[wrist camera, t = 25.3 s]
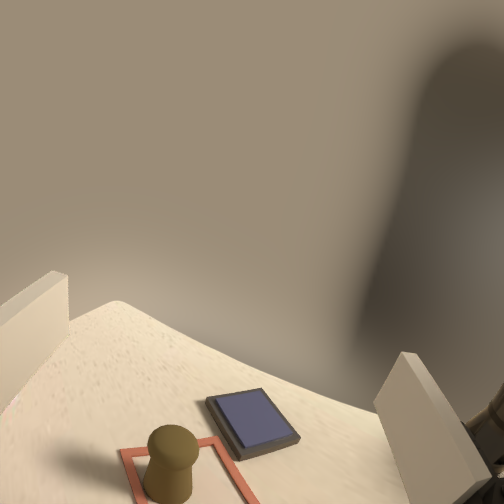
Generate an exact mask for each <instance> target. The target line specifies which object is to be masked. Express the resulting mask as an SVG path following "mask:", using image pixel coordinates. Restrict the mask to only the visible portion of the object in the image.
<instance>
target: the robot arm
mask: <svg viewBox="0 0 504 504" xmlns="http://www.w3.org/2000/svg"><path fill="white" fill-rule="evenodd" d="M68 311H69V310H68V275H65V274H62V273H59V272H56V271H53V270H52V271H51V272H49V273H48V274H46V275H45V276H43V277H42V278H40V279H39V280H37V281H36V282H34V283H33V284H31V285H30V286H29V287H27V288H25V289H24V290H22V291H21V292H20V293H18V294H17V295H15V296H14V297H12V298H11V299H10V300H9V301H7V302H6V303H4V304H3V305H1V306H0V415H1V414H2V413H3V411H4V410H5V409H6V408H7V406H8V405H9V404H10V403H11V401H12V400H13V399H14V398H15V397H16V395H17V394H18V393H19V392H20V391H21V389H22V388H23V387H24V386H25V385H26V384H27V382H28V381H29V380H30V379H31V378H32V377H33V375H34V374H35V373H36V372H37V371H38V370H39V369H40V367H41V366H42V365H43V364H44V363H45V362H46V361H47V360H48V358H49V357H50V356H51V355H52V354H53V353H54V352H55V351H56V350H57V348H58V347H59V346H60V345H61V344H62V343H63V342H64V341H65V340H66V339H67V338H68V336H69V335H70V330H69V312H68ZM373 403H374V406H375V408H376V411H377V413H378V416H379V419H380V421H381V424H382V426H383V429H384V431H385V434H386V437H387V439H388V442H389V445H390V447H391V450H392V453H393V455H394V458H395V461H396V464H397V466H398V469H399V472H400V475H401V478H402V480H403V483H404V486H405V489H406V492H407V495H408V498H409V501H410V504H504V478H500V479H499V478H498V477H497V475H496V474H499V473H501V472H503V471H504V383H503V384H502V386H501V387H500V389H499V390H498V391H497V393H496V394H495V396H494V398H493V399H492V400H491V402H490V403H489V405H488V406H487V407H486V408H485V409H483V410H482V411H481V412H480V413H478V414H477V415H476V416H474V417H473V418H472V419H470V420H469V421H468V422H467V423H466V424H464V423H463V422H461V421H460V420H459V418H458V417H457V416H456V414H455V412H454V410H453V409H452V407H451V406H450V404H449V403H448V401H447V400H446V398H445V396H444V395H443V393H442V392H441V390H440V389H439V387H438V386H437V384H436V382H435V381H434V380H433V378H432V376H431V375H430V374H429V372H428V371H427V369H426V367H425V366H424V365H423V363H422V362H421V360H420V359H419V357H418V356H417V354H414V353H407V352H401V353H400V355H399V357H398V359H397V361H396V363H395V365H394V367H393V368H392V370H391V372H390V374H389V376H388V378H387V380H386V381H385V383H384V385H383V386H382V388H381V390H380V392H379V393H378V395H377V397H376V399H375V400H374V402H373Z"/></svg>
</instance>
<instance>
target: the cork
mask: <svg viewBox="0 0 504 504" xmlns="http://www.w3.org/2000/svg"><path fill="white" fill-rule="evenodd" d="M147 446H148V453H149V455H150V457H151V458H150V461H149V464H148V467H147V470H146V473H145V476H144V480H143V487H144V490H145V492H146V494H147V495H148V496H149V497H150V498H151V499H152V500H153V501H155V502H157V503H159V504H182V503H184V502H185V501H187V500H188V499H189V497H190V496H191V494H192V465H193V464H194V463H195V461H196V460H197V458H198V455H199V445H198V441H197V439H196V438H195V436H194V435H193V434H192V433H191V432H190V431H189V430H187V429H185V428H183V427H181V426H177V425H164V426H161V427H159V428H157V429H155V430H154V431H153V432H152V434H151V435H150V437H149V439H148V443H147Z"/></svg>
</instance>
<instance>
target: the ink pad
mask: <svg viewBox="0 0 504 504" xmlns="http://www.w3.org/2000/svg"><path fill="white" fill-rule="evenodd" d="M205 404H206V406H207V407H208V409H209V411H210V413H211V415H212V416H213V418H214V420H215V422H216V423H217V425H218V427H219V429H220V430H221V432H222V434H223V436H224V437H225V439H226V441H227V442H228V444H229V446H230V447H231V449H232V451H233V452H234V454H235V455H236V457H237V459H238V460H239V462H240V461H243V460H247V459H250V458H254V457H257V456H261V455H264V454H267V453H271V452H274V451H277V450H280V449H283V448H286V447H289V446H292V445H295V444H297V443H298V442H299V440H300V439H301V437H300V436H299V434H298V433H297V432H296V431H295V429H294V428H293V427H292V426H291V425H290V423H289V422H288V421H287V420H286V418H285V417H284V416H283V415H282V413H281V412H280V411H279V409H278V408H277V407H276V406H275V404H274V403H273V402H272V401H271V399H270V398H269V397H268V395H267V394H266V393H265V391H264V390H263V389H262V388H257V389H252V390H247V391H241V392H235V393H229V394H223V395H217V396H210V397H207V398H206V402H205Z"/></svg>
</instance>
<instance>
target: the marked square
mask: <svg viewBox="0 0 504 504" xmlns="http://www.w3.org/2000/svg"><path fill="white" fill-rule="evenodd" d="M197 441H198V445H199V448H200V447H205V446H210V445H213V446H214V447H215V449H216V451H217V453H218V455H219V456H220V458H221V460H222V462H223V463H224V465H225V467H226V468H227V470H228V472H229V474H230V475H231V477H232V479H233V480H234V482H235V484H236V485H237V487H238V488H239V490H240V492H241V493H242V495H243V496H244V498H245V500H246V501H247V503H248V504H260V503H259V501H258V500H257V498H256V497H255V495H254V494H253V492H252V491H251V489H250V488H249V486H248V485H247V483H246V481H245V480H244V478H243V477H242V475H241V474H240V472H239V470H238V469H237V467H236V465H235V464H234V462H233V461H232V459H231V457H230V456H229V454H228V452H227V450H226V449H225V447H224V445H223V444H222V442H221V440H220V438H219V437H218V436H213V437H208V438H203V439H197ZM120 452H121V456H122V459H123V462H124V466H125V469H126V472H127V475H128V479H129V482H130V485H131V488H132V491H133V493H134V496H135V499H136V502H137V504H148V503H147V500H146V497H145V495H144V492H143V489H142V487H141V484H140V481H139V478H138V475H137V472H136V469H135V466H134V463H133V460H132V457H137V456H146V455H149V453H148V447H139V448H128V449H120Z"/></svg>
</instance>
